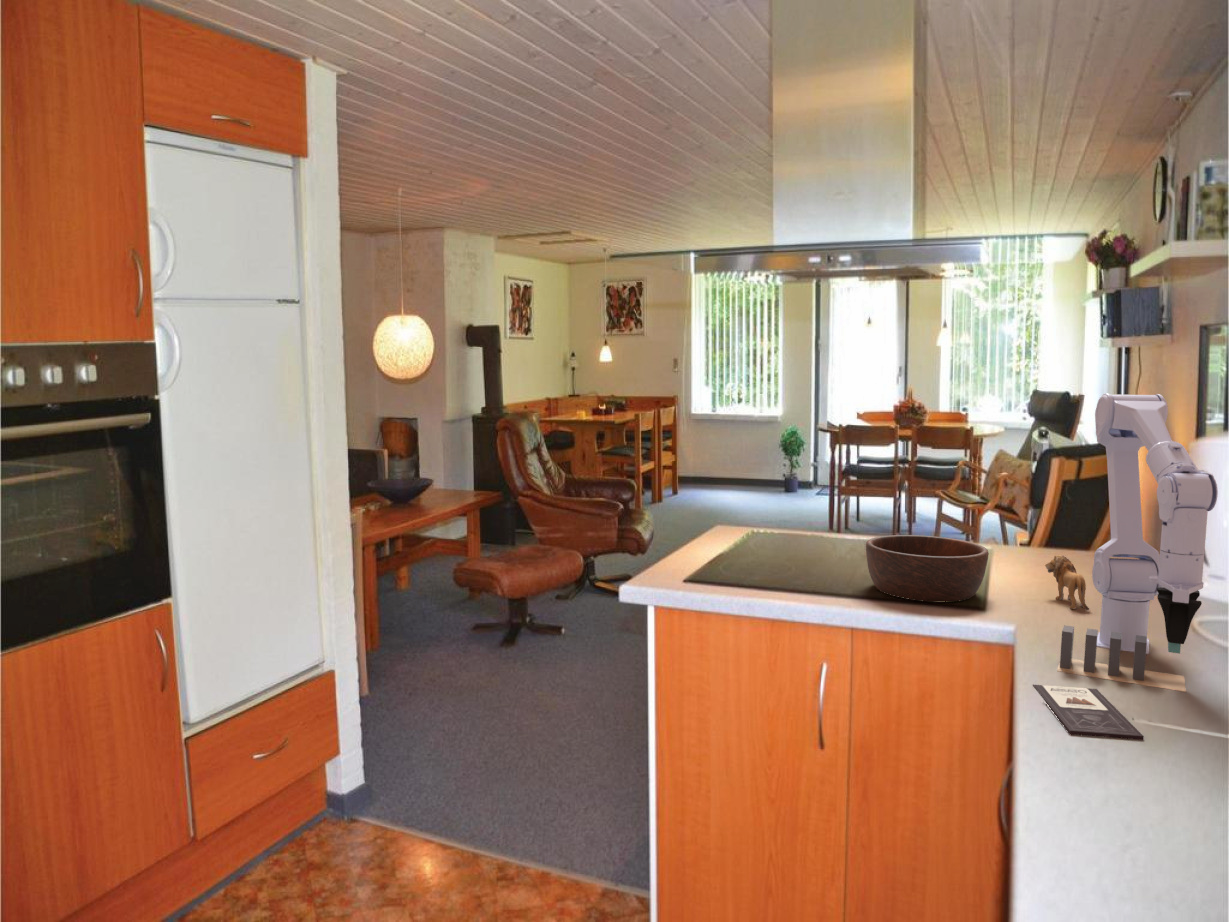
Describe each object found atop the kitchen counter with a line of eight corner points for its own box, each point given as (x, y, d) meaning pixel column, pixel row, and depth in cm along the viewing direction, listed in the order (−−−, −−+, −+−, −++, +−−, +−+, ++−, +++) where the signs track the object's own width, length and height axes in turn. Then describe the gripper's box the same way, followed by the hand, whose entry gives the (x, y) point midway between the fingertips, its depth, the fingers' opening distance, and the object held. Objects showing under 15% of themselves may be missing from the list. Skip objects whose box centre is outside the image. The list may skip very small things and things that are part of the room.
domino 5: (1168, 652, 139) (1171, 613, 138) (1167, 645, 142) (1170, 607, 142) (1180, 653, 138) (1182, 614, 138) (1179, 646, 142) (1182, 608, 141)
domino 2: (1083, 671, 145) (1085, 634, 144) (1084, 664, 149) (1087, 628, 148) (1094, 673, 144) (1096, 636, 144) (1095, 666, 148) (1097, 629, 147)
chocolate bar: (1069, 730, 121) (1032, 684, 139) (1069, 737, 121) (1032, 690, 139) (1143, 736, 119) (1096, 688, 137) (1143, 743, 119) (1096, 695, 137)
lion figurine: (1040, 594, 197) (1043, 553, 196) (1065, 594, 197) (1067, 553, 196) (1075, 612, 182) (1078, 568, 181) (1102, 612, 182) (1105, 568, 181)
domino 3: (1107, 675, 143) (1110, 638, 143) (1108, 668, 147) (1111, 631, 146) (1118, 677, 143) (1121, 639, 142) (1119, 669, 146) (1121, 633, 145)
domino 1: (1059, 667, 147) (1062, 631, 146) (1061, 660, 150) (1063, 625, 150) (1070, 669, 146) (1072, 632, 145) (1071, 662, 149) (1074, 626, 149)
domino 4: (1132, 679, 142) (1135, 641, 141) (1132, 671, 145) (1135, 635, 144) (1143, 680, 141) (1146, 643, 140) (1143, 673, 144) (1146, 636, 144)
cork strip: (1060, 659, 152) (1061, 657, 152) (1183, 678, 143) (1183, 676, 143) (1056, 673, 145) (1056, 670, 145) (1185, 694, 137) (1185, 691, 137)
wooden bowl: (852, 597, 192) (854, 549, 191) (877, 574, 214) (879, 530, 213) (979, 613, 181) (981, 562, 180) (991, 587, 203) (994, 541, 202)
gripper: (1151, 541, 147) (1145, 623, 148) (1151, 556, 134) (1145, 646, 136) (1203, 546, 143) (1196, 630, 145) (1208, 562, 131) (1201, 654, 132)
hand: (1175, 639), depth 140 cm, fingers closed on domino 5, 4 cm apart
